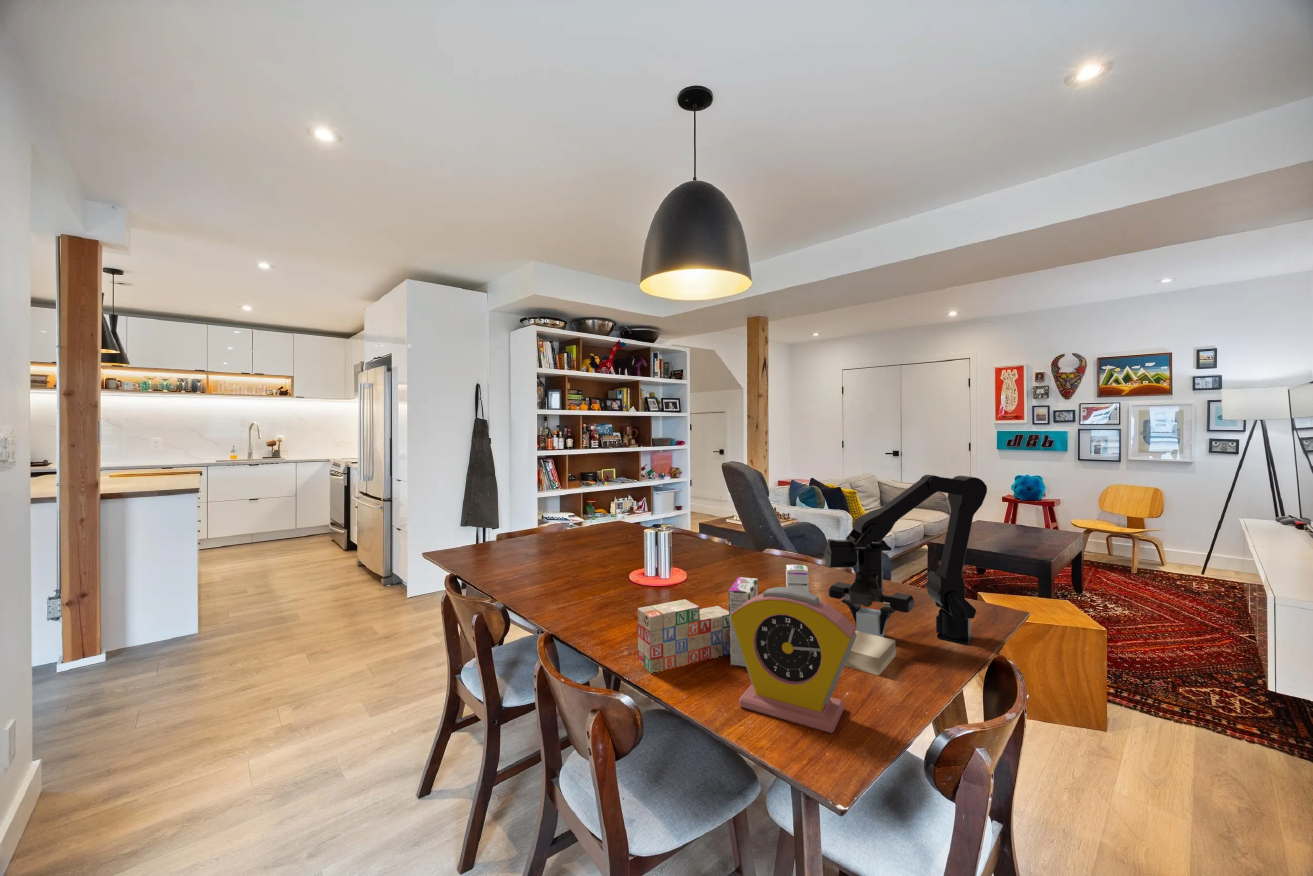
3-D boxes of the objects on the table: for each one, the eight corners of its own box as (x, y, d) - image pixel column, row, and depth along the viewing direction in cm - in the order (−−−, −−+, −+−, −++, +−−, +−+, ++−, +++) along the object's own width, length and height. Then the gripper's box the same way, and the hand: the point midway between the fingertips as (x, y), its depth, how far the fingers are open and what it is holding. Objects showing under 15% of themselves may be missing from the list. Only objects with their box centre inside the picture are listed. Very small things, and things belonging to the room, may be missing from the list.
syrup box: (810, 626, 131) (810, 570, 131) (786, 624, 132) (786, 569, 132) (808, 618, 136) (808, 564, 136) (785, 617, 137) (785, 563, 137)
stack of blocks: (718, 644, 120) (718, 592, 120) (734, 654, 114) (733, 600, 114) (637, 663, 110) (637, 607, 110) (650, 675, 105) (649, 616, 105)
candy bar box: (737, 645, 119) (737, 576, 119) (759, 648, 117) (759, 578, 117) (728, 665, 108) (727, 589, 108) (751, 669, 107) (751, 592, 107)
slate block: (884, 635, 124) (883, 611, 124) (877, 642, 120) (877, 617, 120) (863, 630, 127) (863, 607, 127) (856, 636, 124) (856, 612, 124)
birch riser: (895, 658, 113) (895, 640, 113) (878, 677, 103) (878, 658, 103) (841, 644, 120) (841, 627, 120) (821, 661, 111) (821, 643, 111)
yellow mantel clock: (724, 703, 93) (724, 587, 93) (743, 682, 101) (742, 575, 101) (850, 740, 82) (849, 607, 81) (860, 713, 89) (859, 592, 89)
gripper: (819, 568, 124) (820, 631, 124) (901, 582, 112) (901, 652, 112) (836, 559, 132) (837, 619, 132) (914, 571, 120) (915, 637, 120)
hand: (870, 631), depth 124 cm, fingers closed on slate block, 5 cm apart
